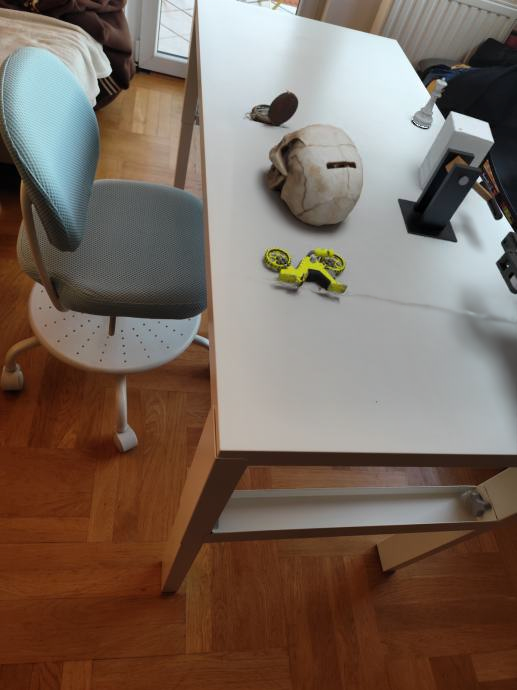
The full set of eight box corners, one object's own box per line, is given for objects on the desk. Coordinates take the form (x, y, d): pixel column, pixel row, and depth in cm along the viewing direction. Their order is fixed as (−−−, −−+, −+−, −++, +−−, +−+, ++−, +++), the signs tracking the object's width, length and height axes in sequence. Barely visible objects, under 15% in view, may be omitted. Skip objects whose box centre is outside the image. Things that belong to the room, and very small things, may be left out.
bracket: (441, 213, 87) (482, 149, 78) (453, 247, 82) (500, 182, 72) (395, 204, 86) (431, 137, 76) (405, 237, 80) (445, 170, 70)
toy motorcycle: (346, 244, 69) (358, 281, 65) (337, 263, 72) (348, 299, 68) (266, 237, 66) (273, 275, 62) (259, 257, 69) (266, 295, 65)
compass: (270, 108, 96) (280, 70, 90) (292, 130, 93) (303, 92, 87) (236, 111, 92) (244, 72, 87) (258, 135, 89) (267, 95, 83)
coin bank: (285, 155, 86) (314, 85, 76) (361, 214, 84) (402, 150, 73) (231, 190, 78) (255, 116, 67) (315, 257, 75) (354, 192, 65)
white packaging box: (454, 205, 90) (495, 143, 80) (417, 193, 90) (454, 129, 80) (451, 183, 95) (489, 122, 85) (415, 171, 94) (450, 109, 85)
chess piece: (413, 126, 106) (437, 80, 98) (409, 116, 109) (432, 70, 101) (431, 131, 107) (456, 85, 99) (427, 120, 109) (451, 75, 102)
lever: (478, 190, 84) (491, 180, 82) (494, 224, 78) (508, 214, 77) (439, 154, 78) (452, 143, 77) (454, 187, 73) (468, 176, 71)
